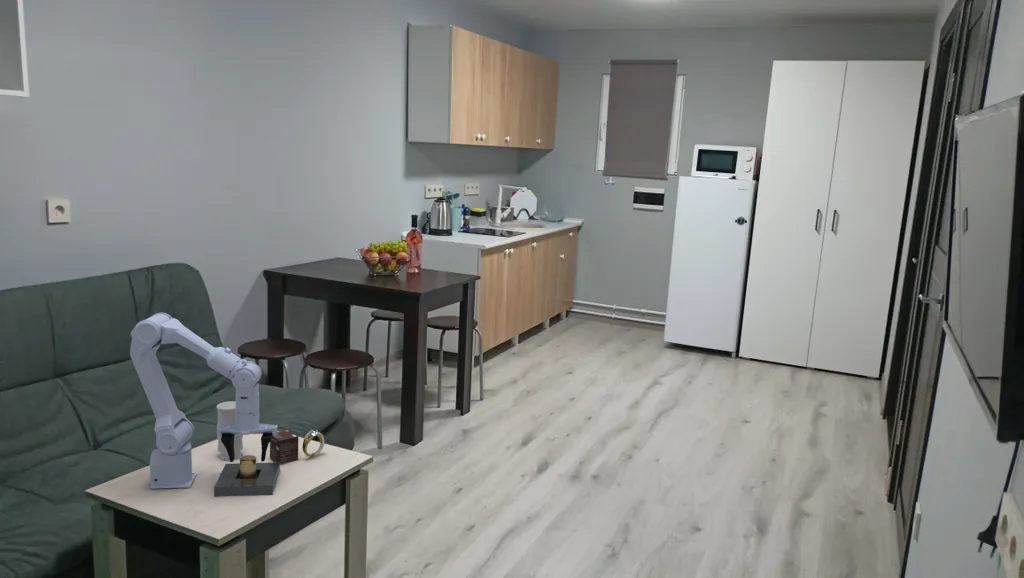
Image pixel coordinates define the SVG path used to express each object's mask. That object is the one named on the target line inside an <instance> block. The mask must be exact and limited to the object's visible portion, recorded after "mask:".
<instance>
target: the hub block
mask: <svg viewBox="0 0 1024 578" xmlns="http://www.w3.org/2000/svg"><path fill="white" fill-rule="evenodd" d="M280 472H281V464H280V462H274V461H273V462H256V479H240V462H239V463H237V462H236V463H235V462H232V463H225V464H224V467H223V468H222V470H221V472H220V474H219V476H218V478H217V480H216V482H215V483H214V486H213V497H230V496H231V497H237V496H238V497H239V496H241V497H242V496H269V495H270V496H271V495H273V494H274V491H275V488H276V485H277V483H278V479H279V475H280V474H281V473H280Z"/></svg>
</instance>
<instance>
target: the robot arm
mask: <svg viewBox="0 0 1024 578" xmlns="http://www.w3.org/2000/svg"><path fill="white" fill-rule="evenodd" d="M130 336H131V342H130V349H129V356H130V359H131V361H132V364H133V366H134V368H135V371H136V373H137V375H138V379H139V381H140V383H141V386H142V387H143V391H144V393H145V395H146V398H147V401H148V402H149V405H150V407H151V410H152V412H153V415H154V417H155V425H154V430H153V431H154V433H155V437H156V439H155V445H156V448H157V449H153V450H152V452H151V455H150V458H149V459H150V460H149V471H150V472H149V474H150V485H149V486H150V487H149V489H152V490H153V489H185V488H186V489H187V488H190V487H191V485H192V484H193V482H194V481H195V479H196V477H197V476H198V473H197V472H193V462H192V461H193V460H192V459H193V458H192V457H193V456H192V444H191V439H192V438H193V437H194V434H195V426H194V425H193V423H192V422H191V421H190V420H189V419H188V418H187V417H186V414H185V412H183V411H181V410H179V409H178V407H177V404H176V401H175V399H174V396H173V393H172V392H171V389H170V386H169V384H168V381H167V379H166V377H165V374H164V372H163V370H162V369H163V368H162V367H161V364H160V362H159V359H158V357H157V354H156V353H157V351H158V350H159V348H160V346H161V345H169V344H178V345H179V346H182V347H184V348H186V349H187V350H189V351H191V352H192V353H195V354H197V355H198V356H200V357H202V358H204V359H205V360H206V363H207V366H208V367H210V368H211V369H212V370H214V371H216V372H217V373H218V374H221V376H224V377H225V378H227V379H228V380H230V381H231V383H232V385H233V387H234V388H235V401H236V424H231V425H221V426H218V428H217V427H216V435H222V437H221V441H222V443H223V444H224V446H225V448H226V450H227V452H228V455H229V459H230V460H229V462H230V463H234V461H235V459H234V457H235V453H234V435H235V434H241V435H243V436H247V435H261V438H260V443H261V453H260V454H261V455H260V459H261V462H260V463H264V462H265V461H266V456H267V450H268V447H269V445H270V440H271V438H272V436H273V435H276V434H277V432H278V424H268V423H260V383H259V380H261V378H262V374H263V372H262V369H261V367H260V366H259V365H258V364H257V363H256V362H255V361H251V360H250V361H248V360H247V359H246V358H244V359H242V358H241V357H239V356H238V355H236V354H234V353H233V352H232V349H231V348H230V347H226V348H225V347H223V346H219V347H214V346H213V345H212V344H210V343H208V342H207V341H206V340H205V339H203V338H201V337H200V336H199V335H197V334H196V333H194V332H193V331H191V330H190V329H189V328H188V327H186V326H185V325H184V324H182V322H181V321H180V320H178V319H177V318H175V317H172V316H171V315H170V314H168V313H165V312H158V313H154V314H153V315H151V316H150V317H148V318H146V319H143V320H141V321H138V322H137V323H136V325H135V326H134V327H133V328H132V331H131V332H130Z"/></svg>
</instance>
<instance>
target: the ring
mask: <svg viewBox="0 0 1024 578" xmlns="http://www.w3.org/2000/svg"><path fill="white" fill-rule="evenodd" d="M316 436H317V438H318V440H319V441H320V442H319V448H318V449H317V450H316V451H315V452H312V453H310V454H309V452H308V449H307V448H308V445H309V443H310V442H311V441H312V440H313V439H314V437H316ZM324 446H325V437H324V434H323V433H321V432H319V431H318V429H316V430H315V431H314V429H311V430H309V431H307V433H306V435H305V436H304V439H303V442H302V452H303V454H304V455H306V456H307V457H309V458H315V457H317V456H318V455H319V454H320V453H321V452H322V451H323V449H324Z"/></svg>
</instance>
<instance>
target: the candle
mask: <svg viewBox="0 0 1024 578" xmlns="http://www.w3.org/2000/svg"><path fill="white" fill-rule="evenodd" d="M216 409H217V424H216V429H217V428H218V426H221V425H231V424H236V400H234V401H233V400H232V401H231V400H229V401H223V402H220V403H218V404H217V405H216ZM216 435H217V434H216ZM221 437H222V435H217V437H216V439H217V452H218V453H219V456H218V458H219V459H221V460H223V461H230V459H229V455H228V452H227V450H226V448H225V446H224V444H223V443H222V441H221ZM243 438H244V435H241V434H235V435H234V453H235V457H234V460H237V459H240V458H241V457H242V450H243V449H244V445H243V444H244V443H243Z"/></svg>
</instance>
